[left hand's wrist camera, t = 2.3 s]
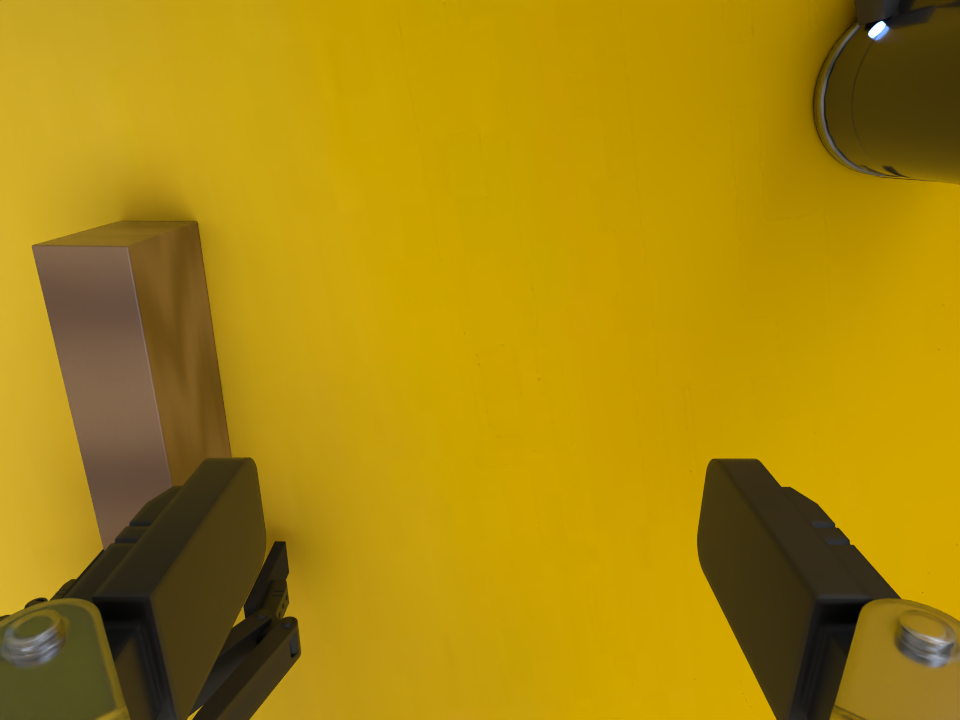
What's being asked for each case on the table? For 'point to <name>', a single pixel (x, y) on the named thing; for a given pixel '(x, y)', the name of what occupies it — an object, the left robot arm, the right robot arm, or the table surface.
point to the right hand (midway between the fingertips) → (201, 556)
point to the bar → (135, 359)
